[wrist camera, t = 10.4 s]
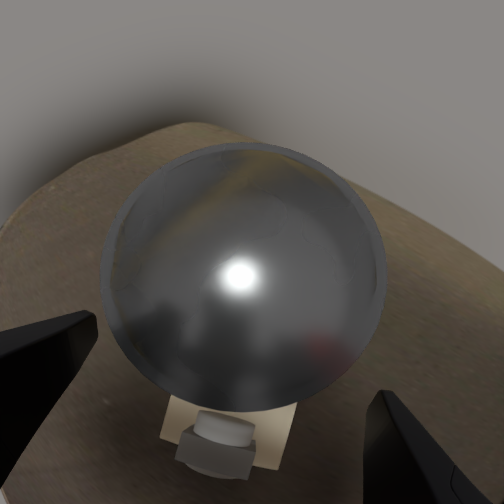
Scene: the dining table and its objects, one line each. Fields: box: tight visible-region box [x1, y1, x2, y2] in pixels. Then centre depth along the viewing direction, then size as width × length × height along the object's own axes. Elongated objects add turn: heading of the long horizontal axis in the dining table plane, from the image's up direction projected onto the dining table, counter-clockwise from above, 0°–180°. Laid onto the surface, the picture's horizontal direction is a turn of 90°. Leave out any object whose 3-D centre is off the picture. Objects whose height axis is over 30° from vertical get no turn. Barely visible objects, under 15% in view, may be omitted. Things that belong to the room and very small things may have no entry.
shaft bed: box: [159, 394, 297, 480], centre depth 16 cm, size 15×7×4 cm, turn 166°
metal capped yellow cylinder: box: [100, 142, 387, 413], centre depth 11 cm, size 6×6×13 cm
